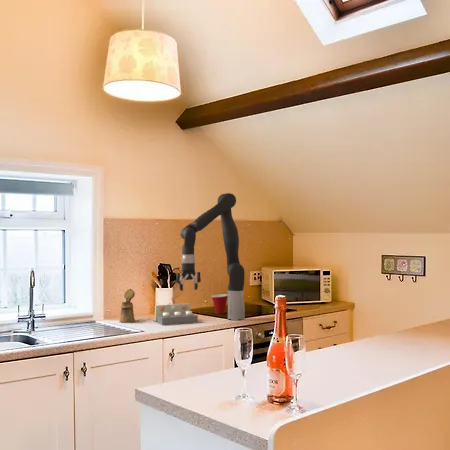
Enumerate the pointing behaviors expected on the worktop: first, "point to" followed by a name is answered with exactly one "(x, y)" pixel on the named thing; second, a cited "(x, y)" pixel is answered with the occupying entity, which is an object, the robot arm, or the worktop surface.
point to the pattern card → (170, 309)
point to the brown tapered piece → (127, 308)
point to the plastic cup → (219, 303)
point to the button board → (177, 319)
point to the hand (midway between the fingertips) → (188, 290)
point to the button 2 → (188, 313)
